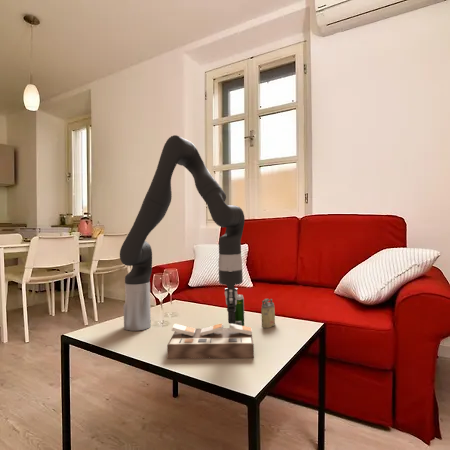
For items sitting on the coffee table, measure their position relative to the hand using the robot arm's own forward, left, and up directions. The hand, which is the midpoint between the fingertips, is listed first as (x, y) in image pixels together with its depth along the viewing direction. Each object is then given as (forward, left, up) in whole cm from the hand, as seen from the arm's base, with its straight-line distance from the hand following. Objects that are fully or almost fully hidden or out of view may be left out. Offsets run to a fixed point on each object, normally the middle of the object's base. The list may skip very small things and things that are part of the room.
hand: (231, 322), depth 97 cm
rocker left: (-15, 0, -2) cm, 15 cm away
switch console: (-6, -1, -8) cm, 10 cm away
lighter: (+14, +20, -8) cm, 25 cm away
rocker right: (+3, 0, -2) cm, 3 cm away
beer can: (+2, +18, -8) cm, 20 cm away
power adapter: (+5, +32, -8) cm, 33 cm away
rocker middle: (-6, 0, -2) cm, 7 cm away
